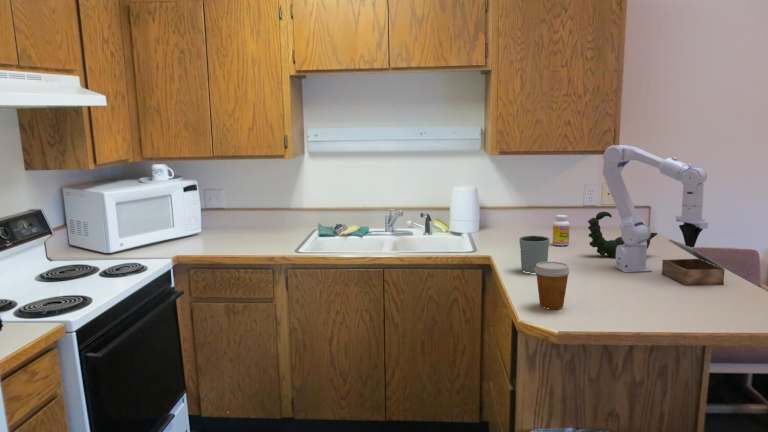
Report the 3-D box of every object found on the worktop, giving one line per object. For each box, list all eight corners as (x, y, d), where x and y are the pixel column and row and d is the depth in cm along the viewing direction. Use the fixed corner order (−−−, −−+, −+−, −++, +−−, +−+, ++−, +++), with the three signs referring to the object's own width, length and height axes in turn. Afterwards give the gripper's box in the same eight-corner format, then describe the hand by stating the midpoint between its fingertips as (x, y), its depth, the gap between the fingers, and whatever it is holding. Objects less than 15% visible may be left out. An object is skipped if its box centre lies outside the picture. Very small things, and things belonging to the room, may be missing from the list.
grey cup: (548, 268, 192) (549, 235, 191) (549, 276, 183) (549, 241, 181) (519, 267, 195) (519, 235, 193) (518, 274, 186) (519, 240, 184)
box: (685, 285, 167) (685, 270, 166) (661, 273, 181) (662, 259, 180) (723, 284, 167) (724, 269, 166) (697, 272, 181) (698, 258, 180)
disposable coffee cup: (562, 300, 157) (562, 260, 155) (574, 311, 147) (575, 268, 145) (529, 301, 156) (530, 261, 154) (540, 312, 147) (540, 270, 145)
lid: (692, 249, 165) (693, 247, 165) (668, 240, 179) (669, 238, 179) (724, 268, 166) (725, 266, 166) (697, 258, 180) (699, 256, 180)
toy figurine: (595, 264, 203) (663, 257, 201) (592, 215, 200) (661, 207, 198) (587, 258, 213) (653, 251, 210) (584, 211, 210) (651, 204, 207)
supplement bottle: (558, 247, 225) (559, 217, 223) (549, 244, 232) (550, 215, 230) (572, 246, 227) (573, 216, 225) (563, 243, 233) (563, 214, 231)
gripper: (718, 207, 164) (716, 251, 166) (691, 201, 178) (689, 241, 181) (695, 208, 164) (693, 252, 166) (670, 202, 178) (668, 242, 181)
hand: (689, 246), depth 173 cm, fingers closed, pressing on lid
